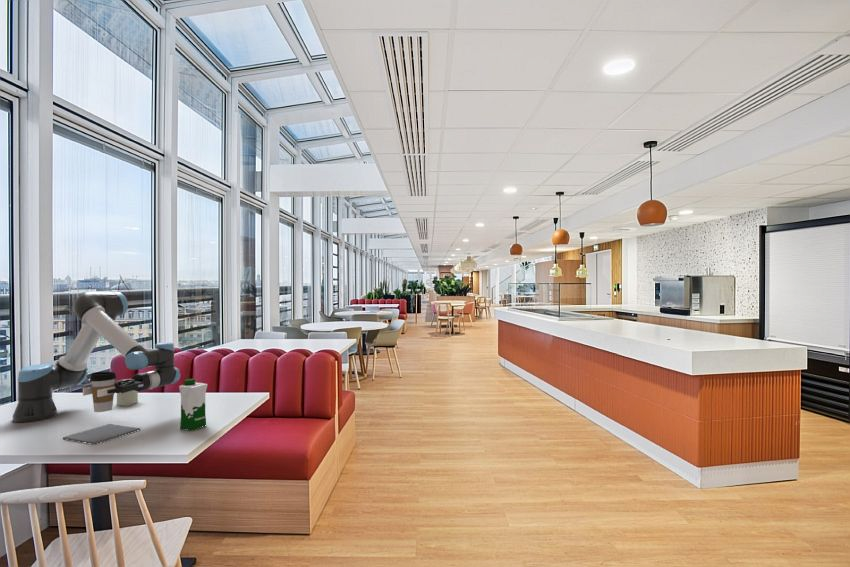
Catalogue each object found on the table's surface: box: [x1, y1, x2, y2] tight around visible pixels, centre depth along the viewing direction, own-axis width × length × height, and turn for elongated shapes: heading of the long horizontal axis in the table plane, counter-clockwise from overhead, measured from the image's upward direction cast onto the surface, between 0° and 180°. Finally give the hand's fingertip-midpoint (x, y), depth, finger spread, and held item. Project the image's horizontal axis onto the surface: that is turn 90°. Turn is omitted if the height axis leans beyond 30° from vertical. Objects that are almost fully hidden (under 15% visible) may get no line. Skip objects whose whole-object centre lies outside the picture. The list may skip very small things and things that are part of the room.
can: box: [116, 378, 139, 406], centre depth 227 cm, size 9×9×12 cm
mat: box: [62, 423, 141, 445], centre depth 178 cm, size 18×18×1 cm
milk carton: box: [178, 378, 208, 431], centre depth 187 cm, size 9×9×20 cm
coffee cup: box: [89, 371, 117, 413], centre depth 178 cm, size 8×8×15 cm
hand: (90, 392), depth 174 cm, fingers closed on coffee cup, 7 cm apart
